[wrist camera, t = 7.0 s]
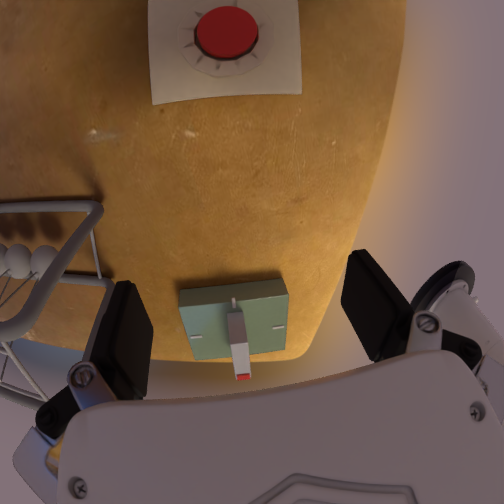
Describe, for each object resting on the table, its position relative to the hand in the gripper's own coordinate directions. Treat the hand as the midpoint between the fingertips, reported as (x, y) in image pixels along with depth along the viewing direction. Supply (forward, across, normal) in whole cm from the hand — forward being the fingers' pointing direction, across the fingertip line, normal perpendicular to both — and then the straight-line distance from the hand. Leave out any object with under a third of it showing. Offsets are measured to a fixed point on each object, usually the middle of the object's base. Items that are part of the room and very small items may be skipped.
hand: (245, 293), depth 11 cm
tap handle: (+13, +1, +17) cm, 21 cm away
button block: (+16, -1, -13) cm, 20 cm away
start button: (+12, -1, -13) cm, 18 cm away
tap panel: (+16, +1, +17) cm, 23 cm away
